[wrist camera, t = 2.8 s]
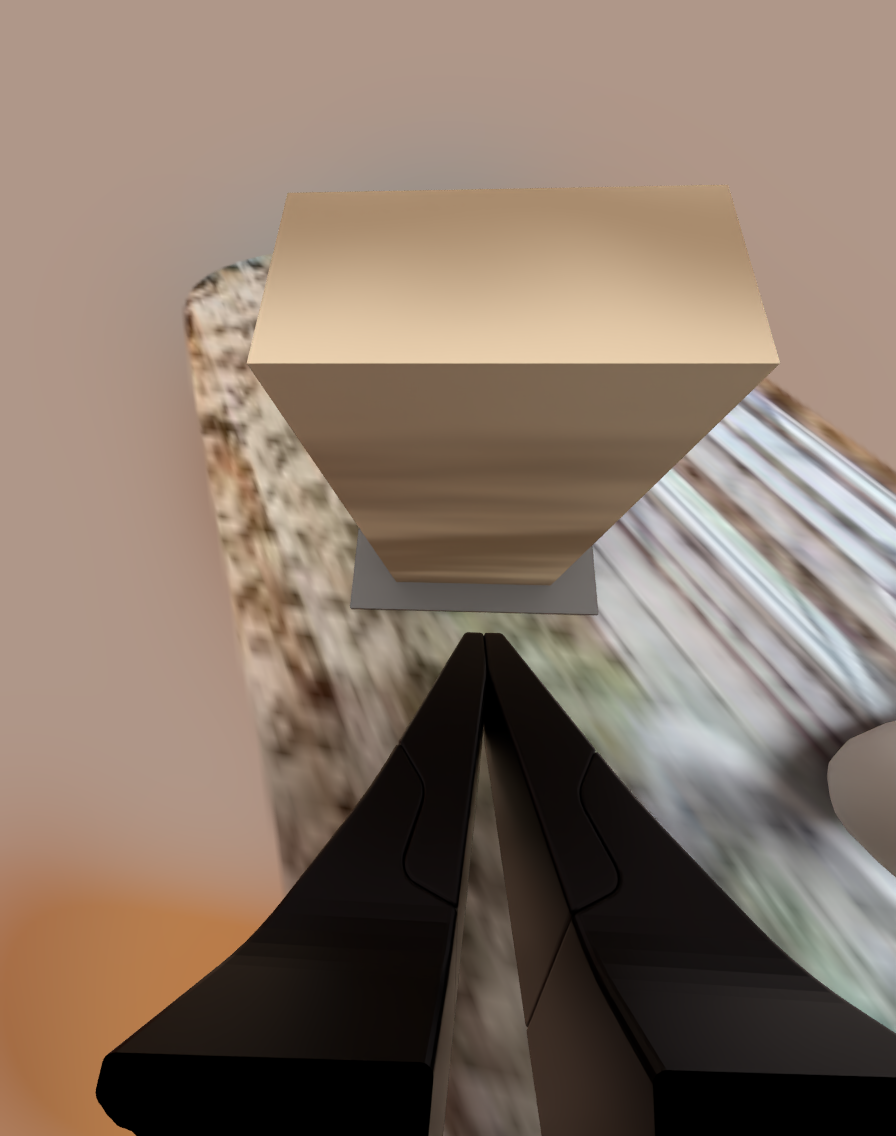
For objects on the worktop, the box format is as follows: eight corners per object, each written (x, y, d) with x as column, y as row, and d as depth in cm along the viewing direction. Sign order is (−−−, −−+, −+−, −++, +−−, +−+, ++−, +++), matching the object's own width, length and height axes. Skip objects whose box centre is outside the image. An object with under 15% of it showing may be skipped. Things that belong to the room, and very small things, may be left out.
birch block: (550, 585, 16) (779, 363, 5) (396, 581, 16) (246, 363, 5) (547, 514, 17) (727, 184, 6) (401, 511, 17) (287, 193, 6)
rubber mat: (596, 615, 16) (598, 614, 16) (351, 608, 16) (349, 607, 16) (572, 335, 20) (573, 332, 20) (380, 336, 21) (380, 332, 21)
